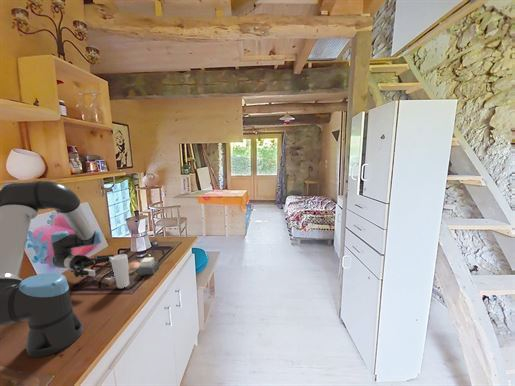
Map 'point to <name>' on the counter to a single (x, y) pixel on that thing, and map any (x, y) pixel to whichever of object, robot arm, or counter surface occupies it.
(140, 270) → the button housing
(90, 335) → the counter surface
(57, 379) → the counter surface
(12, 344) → the counter surface
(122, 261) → the drinking glass
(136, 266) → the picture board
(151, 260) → the button
